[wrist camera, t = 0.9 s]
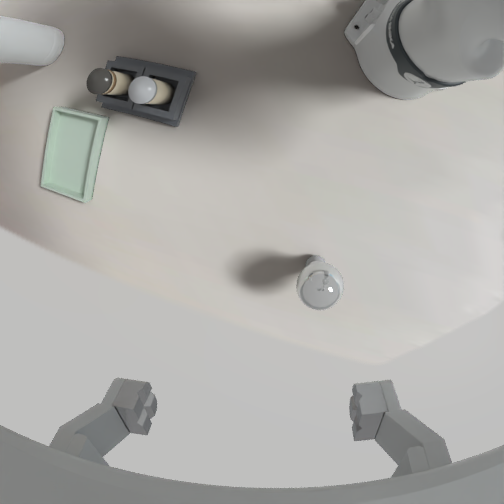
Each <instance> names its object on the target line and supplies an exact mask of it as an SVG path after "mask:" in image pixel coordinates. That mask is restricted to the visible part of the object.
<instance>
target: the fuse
mask: <svg viewBox="0 0 504 504" xmlns="http://www.w3.org/2000/svg"><path fill="white" fill-rule="evenodd" d="M128 94H129V97H130V99H131V100H132V101H133V102H135V103H138V104H158V105H167V104H169V103H171V102H172V100H173V97H174V94H175V88H174V86H173V85H172V84H170V83H167V82H163V81H159V80H156V79H152V78H149V77H146V76H140V77H137V78H135V79H134V80H133V81H132V82H131V84H130V86H129V89H128Z"/></svg>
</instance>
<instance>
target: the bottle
mask: <svg viewBox="0 0 504 504" xmlns="http://www.w3.org/2000/svg"><path fill="white" fill-rule="evenodd" d="M63 46H64V34H63V32H62V31H61V30H60V29H58V28H55V27H52V26H49V25H43V24H39V23H34V22H30V21H25V20H21V19H16V18H11V17H6V16H0V63H12V64H28V65H34V66H47V65H49V64H51V63H53V62H54V61H55V60H56V59H57V58H58V56H59V55H60V53H61V52H62V49H63Z"/></svg>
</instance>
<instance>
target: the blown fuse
mask: <svg viewBox="0 0 504 504" xmlns="http://www.w3.org/2000/svg"><path fill="white" fill-rule="evenodd" d="M134 79H135V78H134V77H133V76H132V75H129V74H125V73H120V72H116V71H111V70H108V69H103V68H98V69H95V70H93V71H92V72H91V73H90V75H89V76H88V79H87V88H88V90H89V91H90V92H91V93H93V94H109V95H122V96H127V95H129V94H128V89H129V86H130V84H131V82H132V81H133V80H134Z"/></svg>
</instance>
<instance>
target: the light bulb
mask: <svg viewBox="0 0 504 504" xmlns="http://www.w3.org/2000/svg"><path fill="white" fill-rule="evenodd" d="M296 289H297V294H298V297H299V298H300V300H301V301H302V303H303V304H304V305H306V306H307V307H309V308H311V309H314V310H326V309H329V308H331V307H333V306H334V305H336V304H337V303H338V301H339V300H340V299H341V297H342V295H343V291H344V281H343V277H342V275H341V273H340V272H339V271H338V269H337V268H335V267H334V266H333V265H331V264H329V263H326V262H325V260H324V259H323V258H322V257H321V256H317V255H316V256H312V257H310V258H309V259H308V260H307V262H306V267H305V268H304V269H303V270H302V271H301V273H300V274H299V276H298V279H297V284H296Z"/></svg>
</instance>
